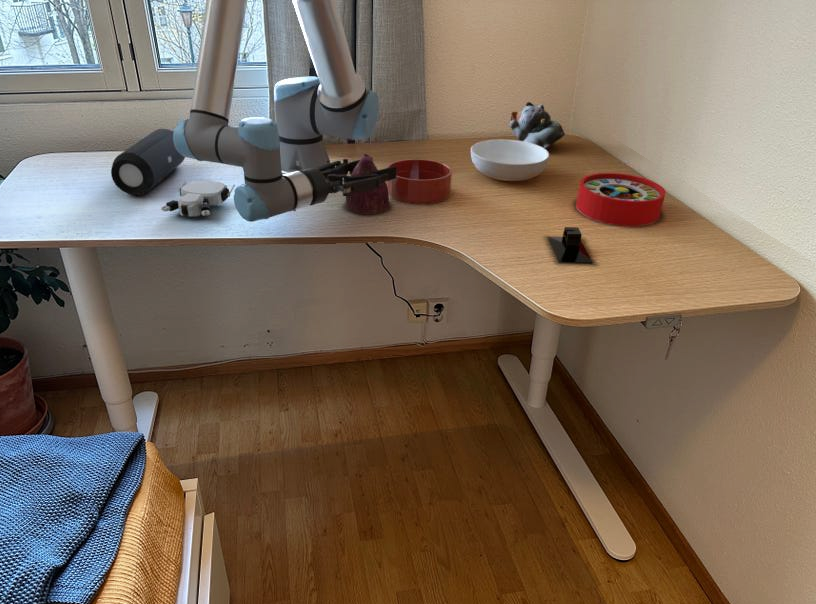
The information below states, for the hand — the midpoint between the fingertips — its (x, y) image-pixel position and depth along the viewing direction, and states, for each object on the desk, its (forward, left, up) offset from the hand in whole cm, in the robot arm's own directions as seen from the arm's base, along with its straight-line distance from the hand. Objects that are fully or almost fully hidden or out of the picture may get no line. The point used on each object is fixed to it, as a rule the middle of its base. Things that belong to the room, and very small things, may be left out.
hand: (383, 167), depth 154 cm
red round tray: (+1, +11, -8) cm, 14 cm away
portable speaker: (-47, -35, -9) cm, 59 cm away
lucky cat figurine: (-5, +67, -9) cm, 68 cm away
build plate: (+46, +12, -9) cm, 48 cm away
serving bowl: (+7, +39, -9) cm, 41 cm away
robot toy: (-23, -36, -9) cm, 43 cm away
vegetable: (0, -5, -9) cm, 10 cm away
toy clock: (+40, +41, -9) cm, 58 cm away
